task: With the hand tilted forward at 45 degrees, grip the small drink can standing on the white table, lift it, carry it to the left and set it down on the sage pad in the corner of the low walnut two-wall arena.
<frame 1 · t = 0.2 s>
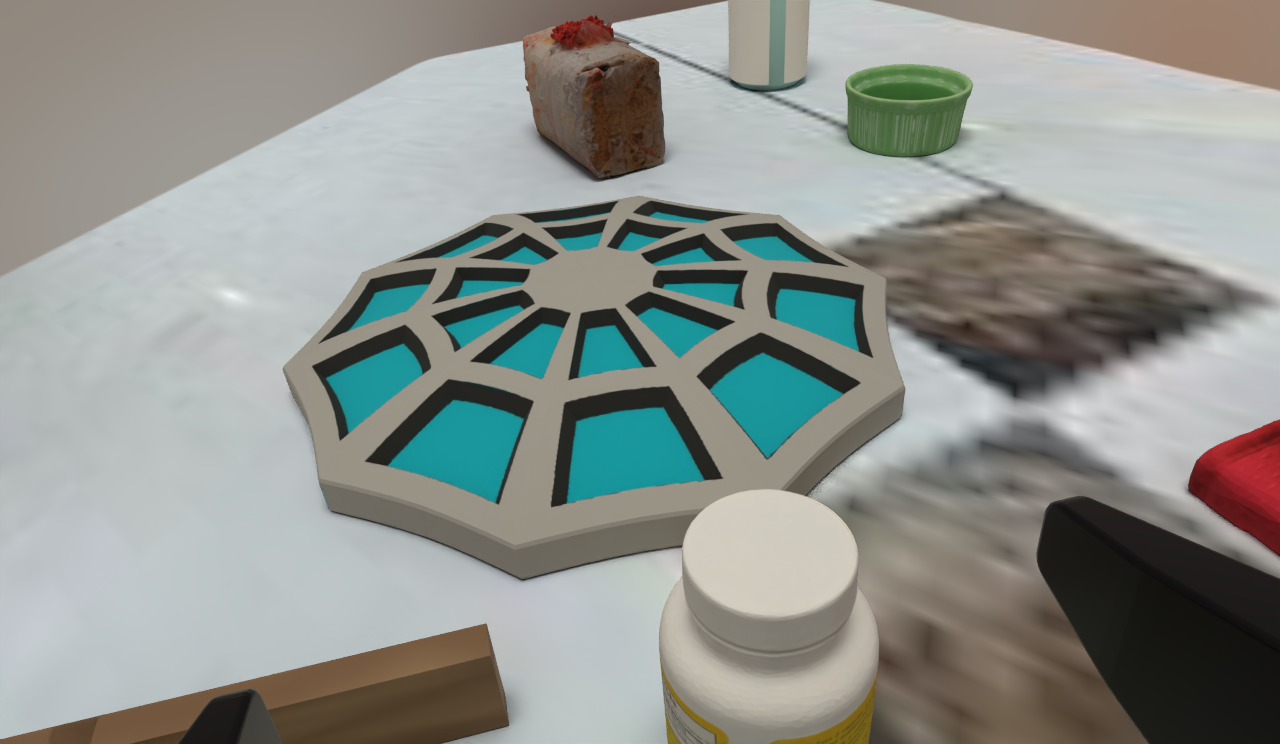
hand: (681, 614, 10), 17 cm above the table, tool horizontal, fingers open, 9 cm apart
food item: (598, 150, 69), on the table
ramekin: (901, 142, 66), on the table
can: (767, 83, 80), on the table
decorative platform: (599, 361, 45), on the table
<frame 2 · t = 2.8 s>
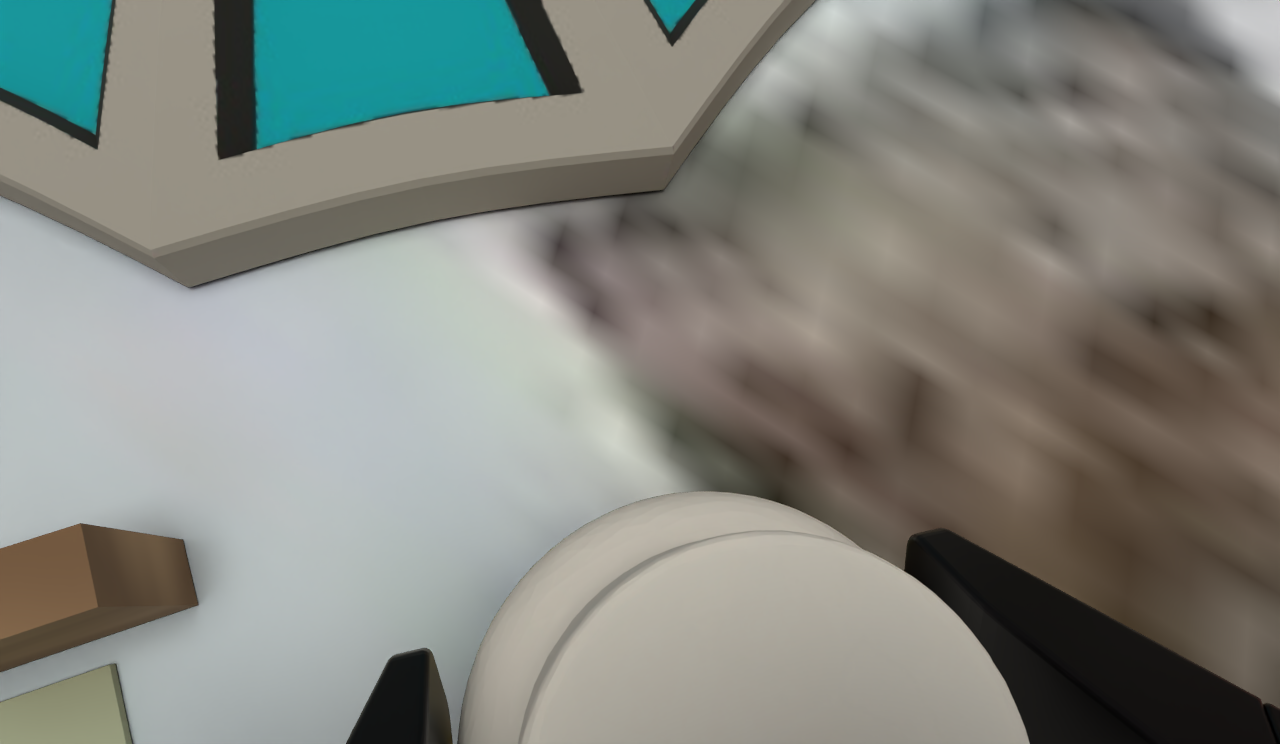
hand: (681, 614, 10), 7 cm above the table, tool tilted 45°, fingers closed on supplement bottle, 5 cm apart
supplement bottle: (644, 684, 16), on the table, touching gripper
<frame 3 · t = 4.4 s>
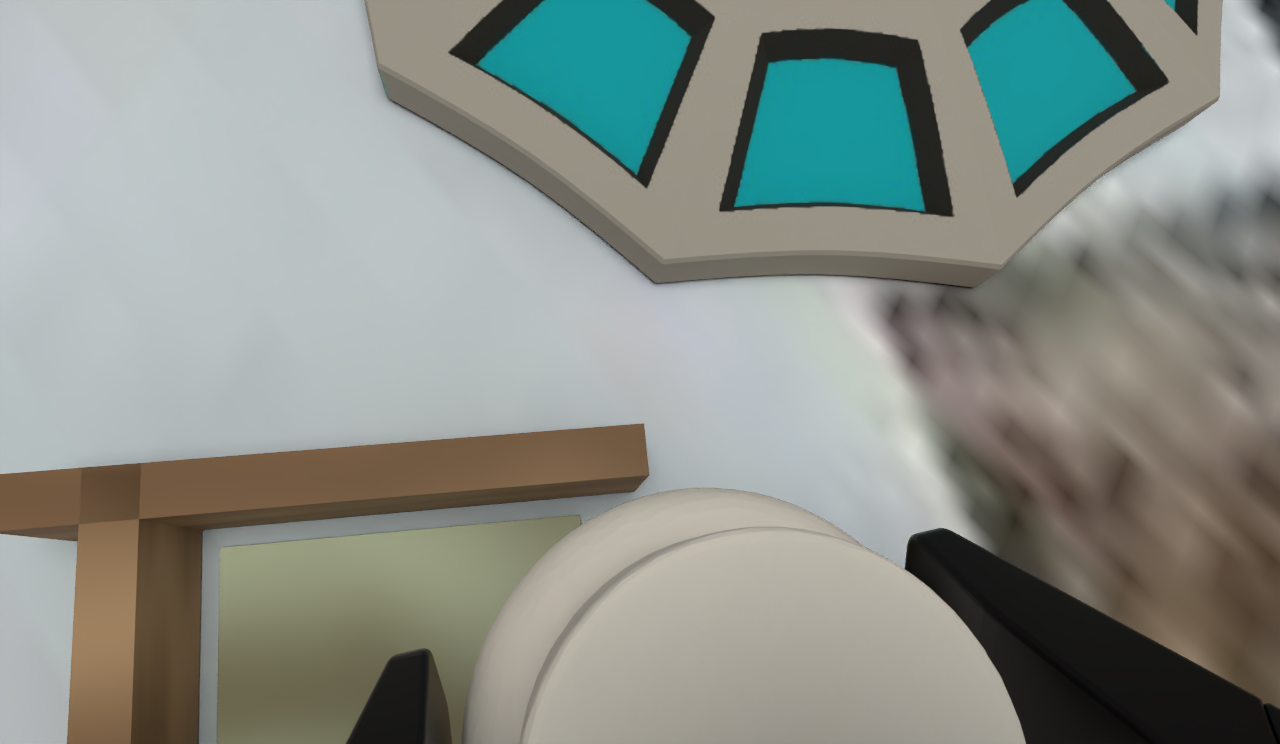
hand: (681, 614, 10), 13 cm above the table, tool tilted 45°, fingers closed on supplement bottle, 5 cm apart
arena: (412, 716, 21), on the table
supplement bottle: (648, 679, 16), point 6 cm above the table, touching gripper
when the fingers open (8 cm above the table, at t = 6.1 s): supplement bottle stays where it is, resting on arena.
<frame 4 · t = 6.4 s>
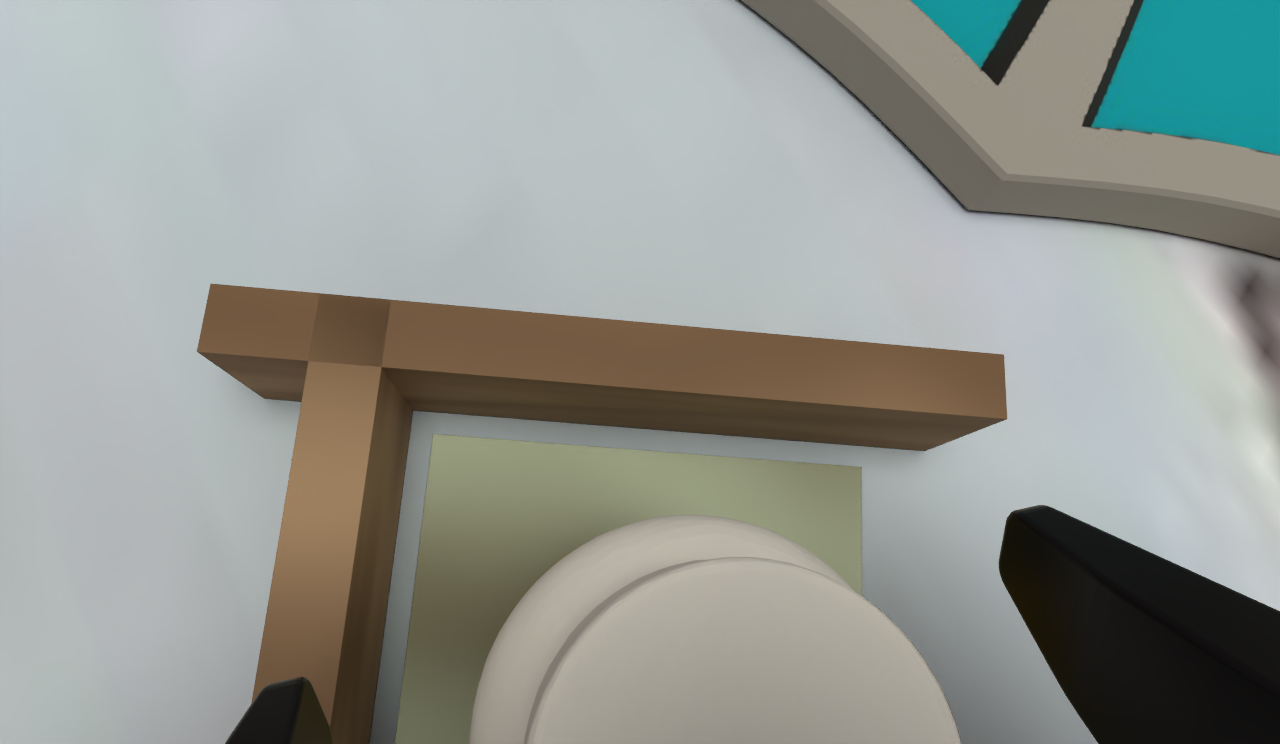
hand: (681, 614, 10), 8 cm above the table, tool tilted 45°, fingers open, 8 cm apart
arena: (637, 677, 17), on the table
supplement bottle: (638, 685, 17), resting on arena
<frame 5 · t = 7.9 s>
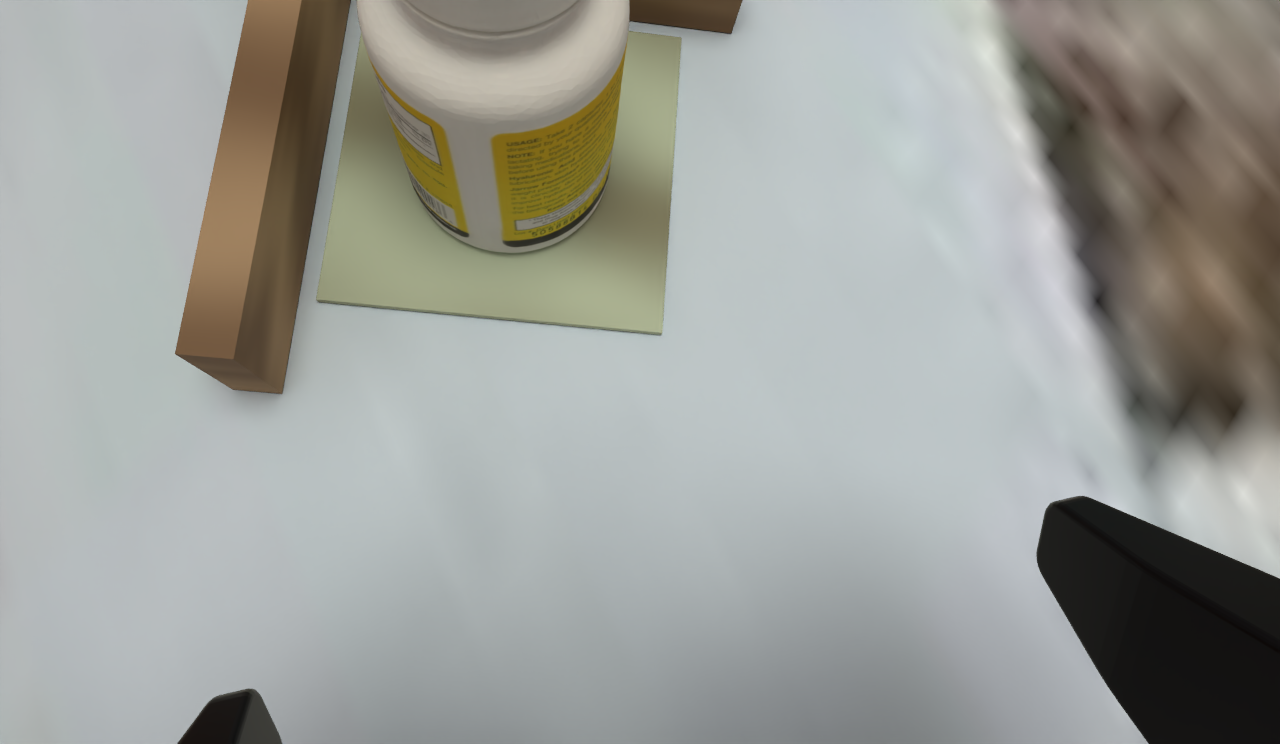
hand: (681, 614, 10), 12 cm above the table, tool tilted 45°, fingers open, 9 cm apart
arena: (510, 163, 24), on the table
supplement bottle: (510, 168, 24), resting on arena
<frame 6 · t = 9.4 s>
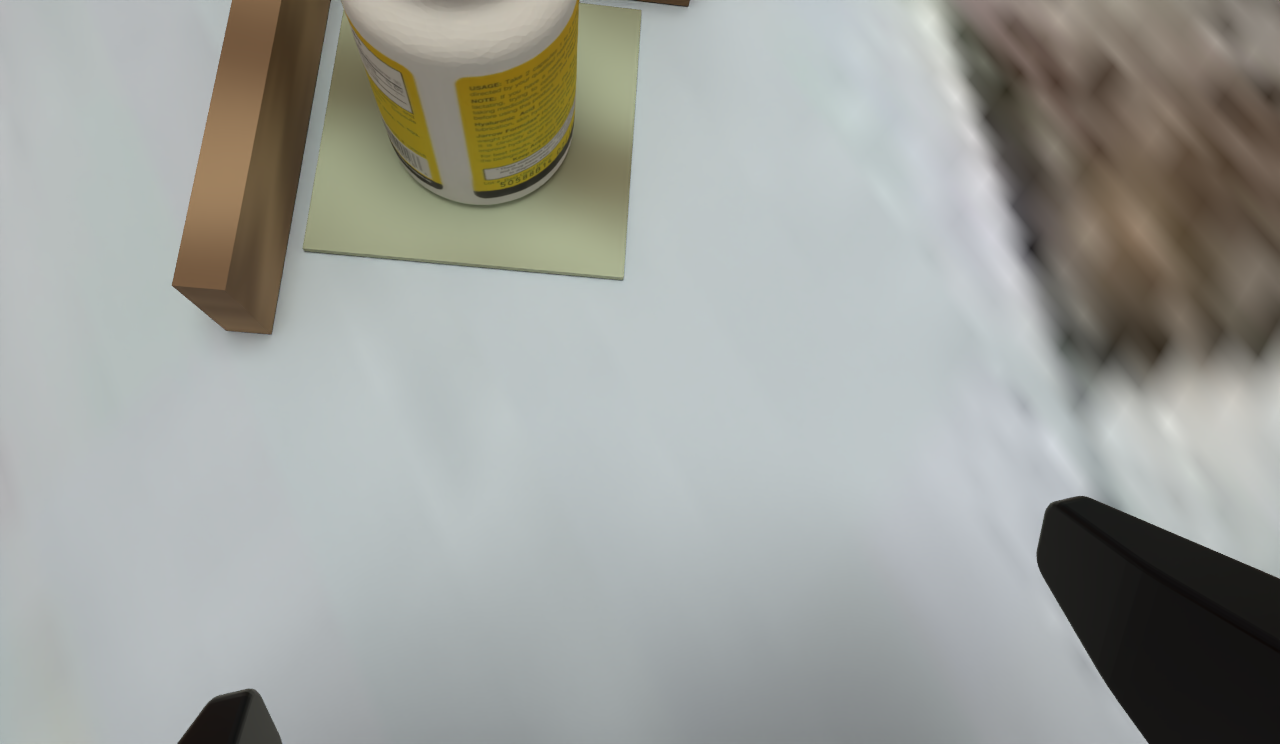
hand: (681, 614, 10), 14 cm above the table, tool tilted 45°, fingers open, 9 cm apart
arena: (482, 125, 26), on the table
supplement bottle: (483, 130, 26), resting on arena
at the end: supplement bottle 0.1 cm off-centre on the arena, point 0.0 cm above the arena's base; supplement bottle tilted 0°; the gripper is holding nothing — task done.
